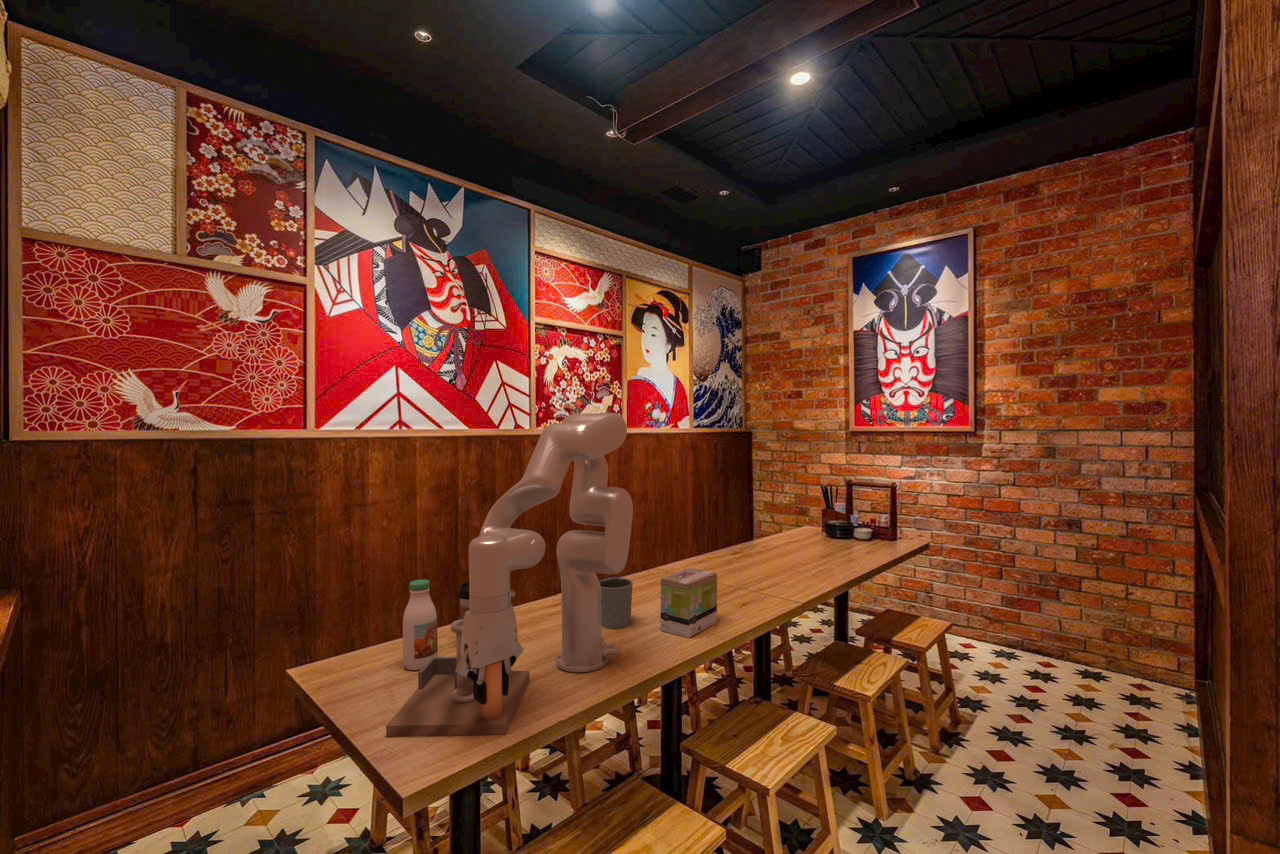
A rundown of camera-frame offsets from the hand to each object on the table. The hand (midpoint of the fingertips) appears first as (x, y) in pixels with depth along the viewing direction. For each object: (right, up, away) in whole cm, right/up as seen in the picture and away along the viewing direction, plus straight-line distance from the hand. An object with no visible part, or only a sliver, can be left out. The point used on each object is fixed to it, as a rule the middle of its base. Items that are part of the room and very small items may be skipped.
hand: (491, 696), depth 104 cm
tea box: (+42, -5, +50) cm, 65 cm away
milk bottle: (-25, -6, +27) cm, 37 cm away
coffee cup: (-16, -6, +41) cm, 45 cm away
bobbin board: (-7, -5, +7) cm, 12 cm away
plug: (0, -3, 0) cm, 3 cm away
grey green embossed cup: (+21, -5, +52) cm, 57 cm away
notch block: (-14, -4, +14) cm, 20 cm away
